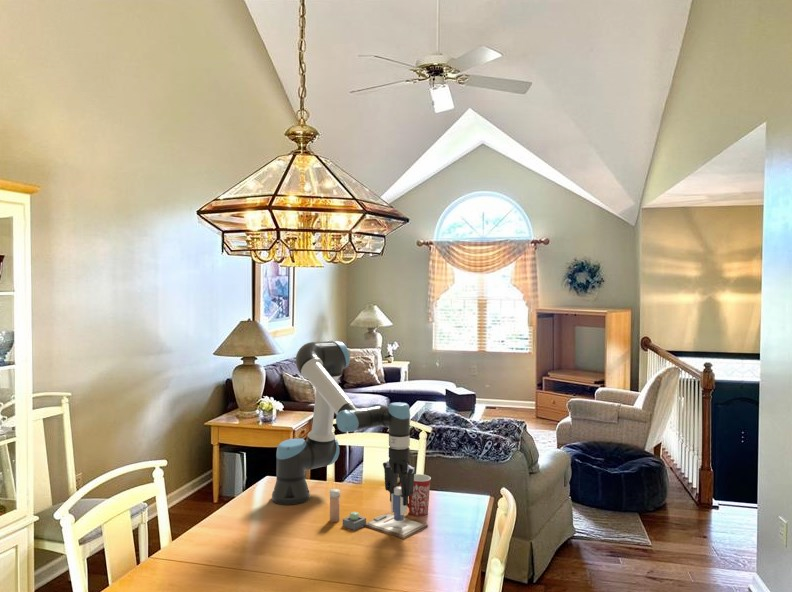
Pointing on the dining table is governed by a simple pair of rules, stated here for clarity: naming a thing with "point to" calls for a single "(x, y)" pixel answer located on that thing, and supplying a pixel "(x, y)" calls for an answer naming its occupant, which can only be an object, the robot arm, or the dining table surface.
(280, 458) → the robot arm
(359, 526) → the button housing
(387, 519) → the clipboard
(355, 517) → the button
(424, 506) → the mug
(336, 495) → the pale pink bottle
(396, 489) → the blue bottle
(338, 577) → the dining table surface
